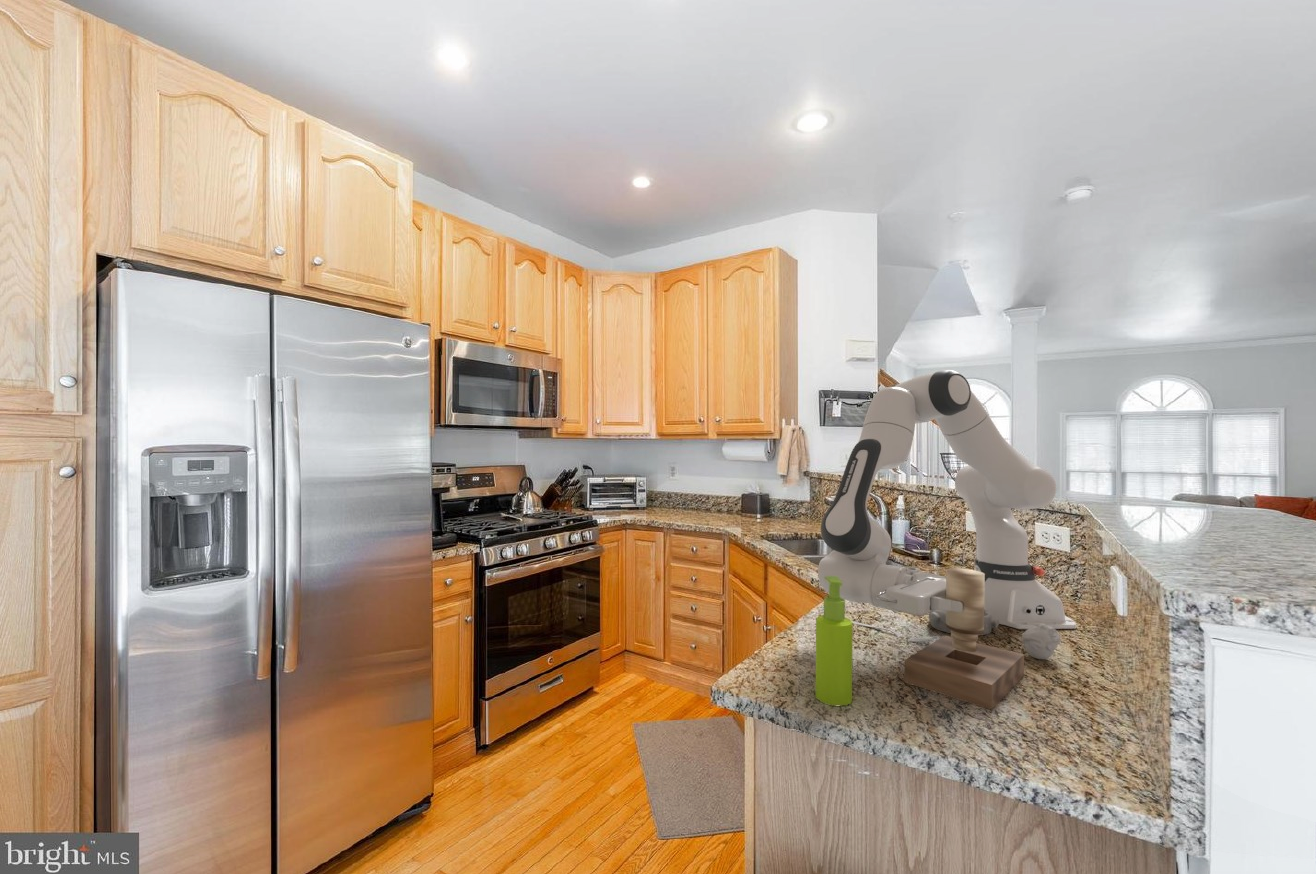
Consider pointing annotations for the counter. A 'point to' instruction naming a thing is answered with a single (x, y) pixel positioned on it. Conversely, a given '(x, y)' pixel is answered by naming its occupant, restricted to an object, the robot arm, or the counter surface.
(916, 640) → the fork
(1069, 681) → the counter surface
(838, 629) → the soap dispenser
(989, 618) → the dish
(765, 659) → the counter surface
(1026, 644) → the frog figurine
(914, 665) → the walnut board
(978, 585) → the maple leg
